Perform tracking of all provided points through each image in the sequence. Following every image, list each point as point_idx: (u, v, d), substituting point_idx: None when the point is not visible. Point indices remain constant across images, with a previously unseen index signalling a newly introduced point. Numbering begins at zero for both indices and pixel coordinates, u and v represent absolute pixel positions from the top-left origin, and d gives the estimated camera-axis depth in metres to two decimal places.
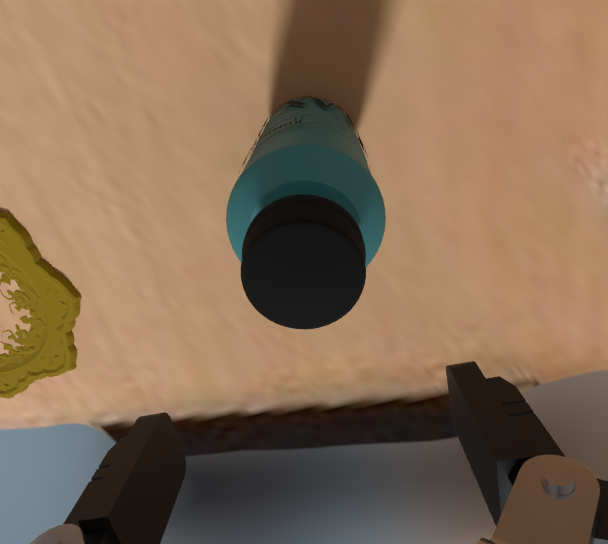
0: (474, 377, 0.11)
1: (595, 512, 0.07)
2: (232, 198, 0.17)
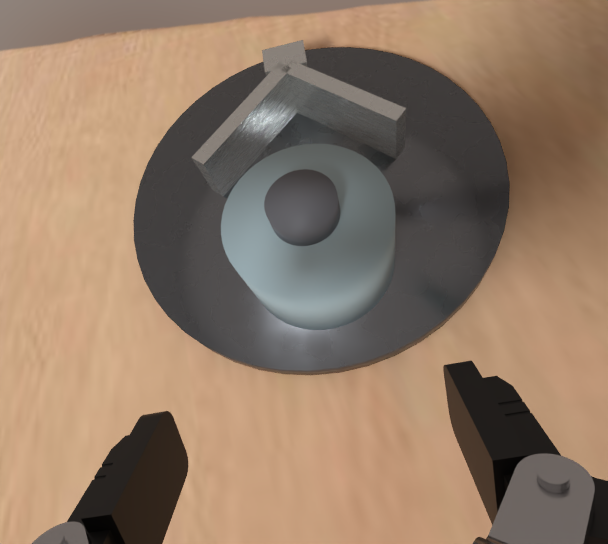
0: (471, 376, 0.11)
1: (589, 510, 0.07)
2: None
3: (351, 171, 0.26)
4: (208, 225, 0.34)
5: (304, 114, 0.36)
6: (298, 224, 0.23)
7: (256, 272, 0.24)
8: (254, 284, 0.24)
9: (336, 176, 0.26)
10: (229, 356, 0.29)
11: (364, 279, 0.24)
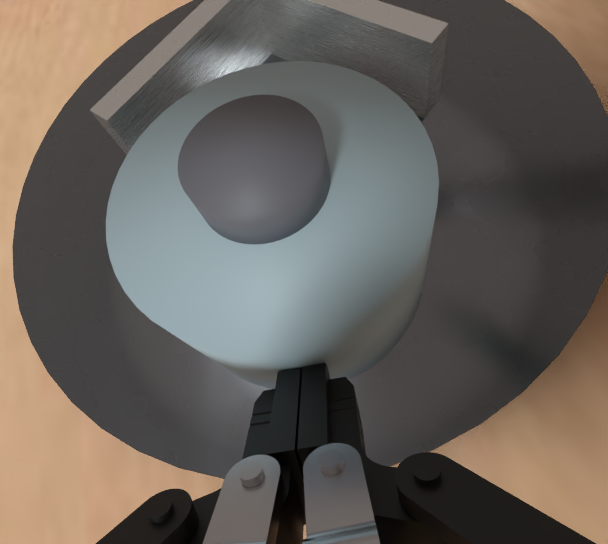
0: (317, 377, 0.12)
1: (346, 489, 0.08)
2: None
3: (351, 105, 0.14)
4: None
5: (282, 55, 0.24)
6: (242, 199, 0.11)
7: (163, 296, 0.12)
8: (157, 321, 0.12)
9: (323, 114, 0.14)
10: (141, 450, 0.17)
11: (379, 311, 0.12)
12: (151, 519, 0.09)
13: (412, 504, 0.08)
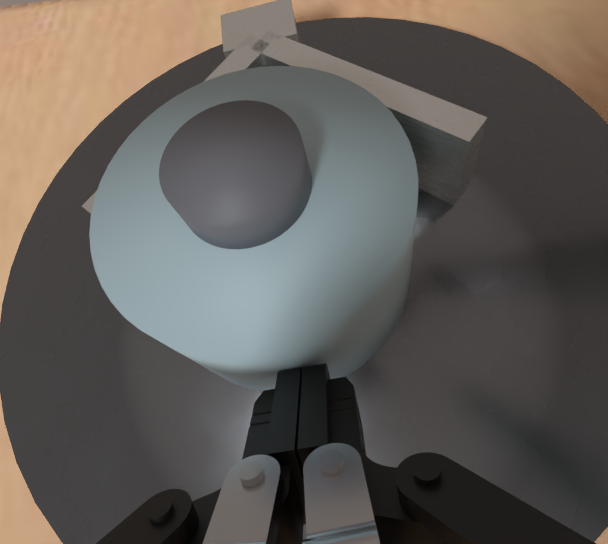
0: (317, 377, 0.12)
1: (346, 489, 0.08)
2: None
3: (329, 107, 0.14)
4: (124, 319, 0.19)
5: None
6: (224, 204, 0.11)
7: (150, 305, 0.12)
8: (145, 330, 0.12)
9: (302, 118, 0.14)
10: None
11: (365, 309, 0.12)
12: (151, 519, 0.09)
13: (412, 504, 0.08)
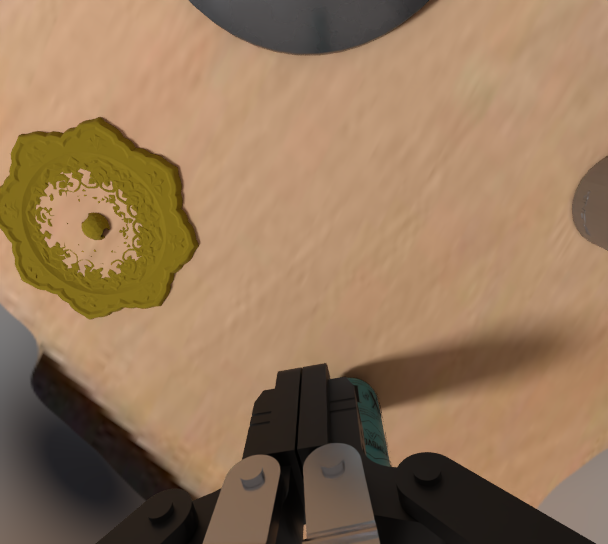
0: (317, 377, 0.12)
1: (346, 489, 0.08)
2: None
3: None
4: None
5: None
6: None
7: None
8: None
9: None
10: None
11: None
12: (151, 519, 0.09)
13: (412, 504, 0.08)
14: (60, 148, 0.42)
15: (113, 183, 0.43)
